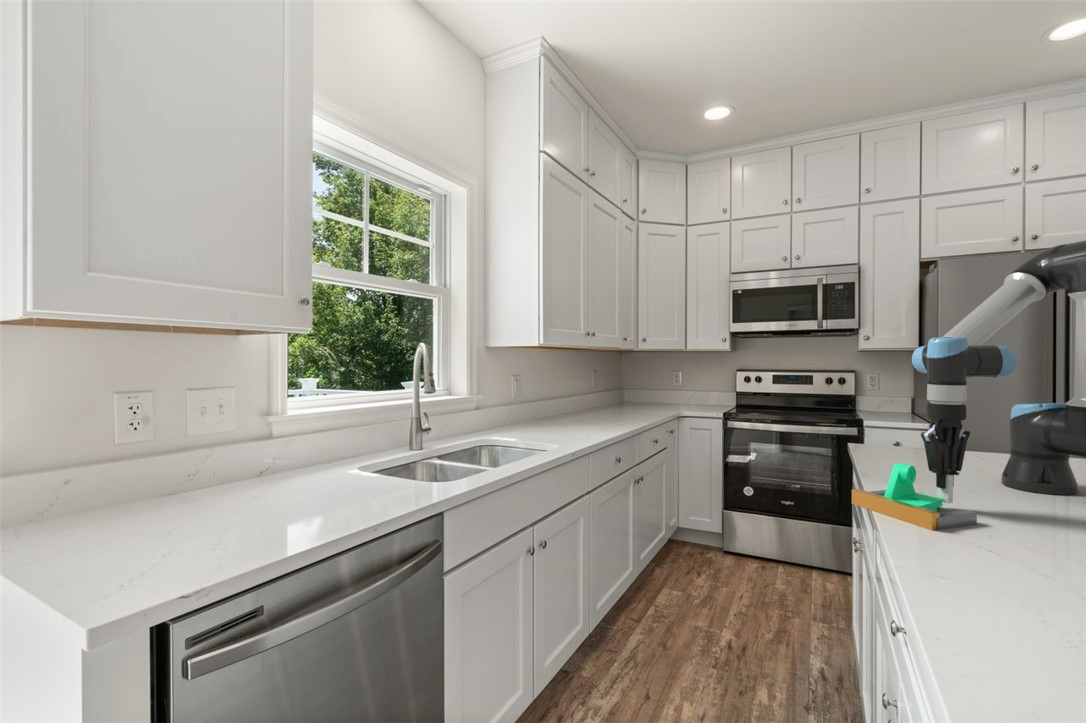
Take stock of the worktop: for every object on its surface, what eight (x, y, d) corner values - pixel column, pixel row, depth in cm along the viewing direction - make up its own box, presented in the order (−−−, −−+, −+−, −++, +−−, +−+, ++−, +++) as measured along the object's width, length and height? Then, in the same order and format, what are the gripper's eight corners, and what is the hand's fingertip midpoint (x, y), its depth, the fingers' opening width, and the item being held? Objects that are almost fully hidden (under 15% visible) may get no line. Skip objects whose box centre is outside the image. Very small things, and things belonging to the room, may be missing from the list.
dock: (892, 499, 134) (892, 485, 134) (976, 523, 115) (976, 507, 115) (851, 503, 131) (851, 489, 131) (932, 530, 112) (932, 513, 111)
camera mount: (919, 518, 120) (919, 472, 119) (883, 509, 126) (883, 466, 126) (944, 509, 126) (944, 466, 125) (908, 501, 132) (909, 460, 132)
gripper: (950, 400, 131) (948, 494, 132) (910, 401, 127) (908, 499, 128) (983, 403, 124) (981, 503, 124) (941, 405, 120) (940, 508, 121)
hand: (944, 501), depth 126 cm, fingers closed
